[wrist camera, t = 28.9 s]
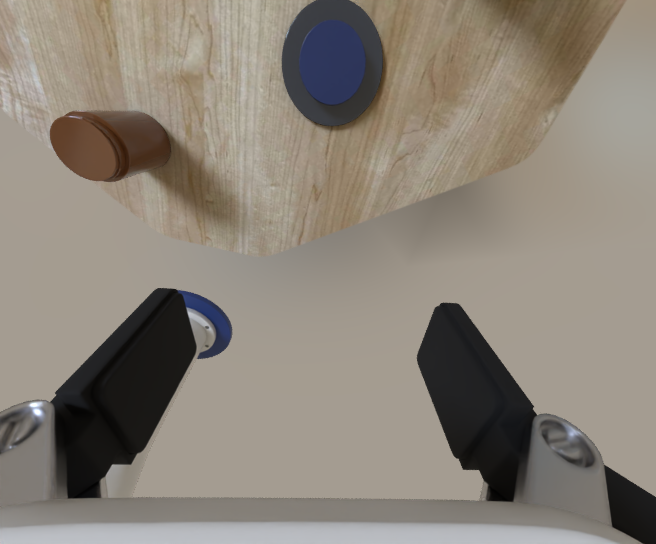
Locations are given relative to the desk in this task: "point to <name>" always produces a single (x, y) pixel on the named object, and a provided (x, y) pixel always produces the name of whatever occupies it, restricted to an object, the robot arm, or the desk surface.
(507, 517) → the robot arm
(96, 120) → the jar
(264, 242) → the desk surface
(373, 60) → the coaster
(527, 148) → the desk surface
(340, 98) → the lid
